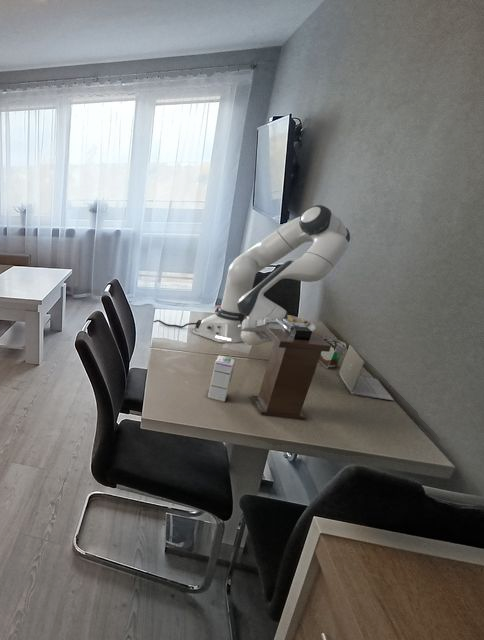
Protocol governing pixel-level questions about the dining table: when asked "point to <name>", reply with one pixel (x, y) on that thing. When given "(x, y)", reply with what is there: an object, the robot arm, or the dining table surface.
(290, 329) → the twin chrome rods
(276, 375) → the stand
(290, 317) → the bowl
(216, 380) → the syrup box
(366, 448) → the dining table surface
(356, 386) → the laptop
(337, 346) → the food container
